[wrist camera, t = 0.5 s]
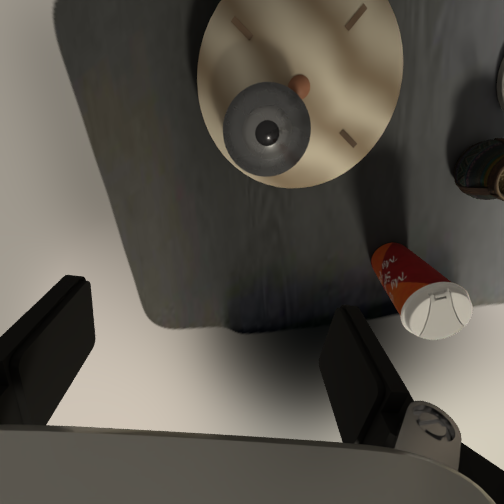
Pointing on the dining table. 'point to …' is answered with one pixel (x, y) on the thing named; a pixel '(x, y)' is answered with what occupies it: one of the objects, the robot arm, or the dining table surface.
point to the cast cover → (266, 129)
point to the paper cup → (421, 293)
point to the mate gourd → (482, 170)
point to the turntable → (307, 74)
